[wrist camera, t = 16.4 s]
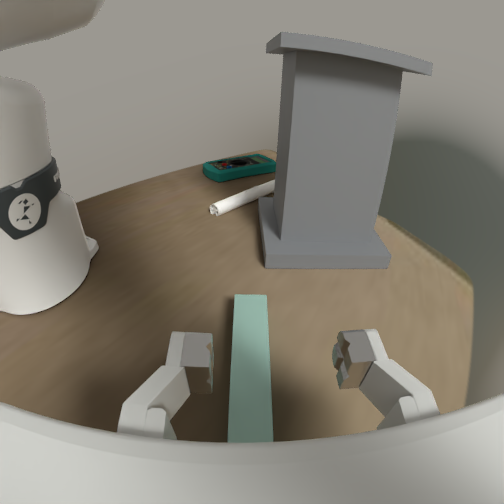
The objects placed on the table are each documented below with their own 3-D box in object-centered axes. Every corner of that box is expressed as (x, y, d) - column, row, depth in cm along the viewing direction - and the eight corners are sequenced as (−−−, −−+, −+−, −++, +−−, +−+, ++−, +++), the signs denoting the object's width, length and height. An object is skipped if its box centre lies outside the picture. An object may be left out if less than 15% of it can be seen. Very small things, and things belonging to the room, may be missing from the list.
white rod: (279, 185, 60) (280, 173, 59) (288, 188, 59) (289, 176, 58) (209, 214, 49) (209, 200, 48) (218, 218, 48) (218, 204, 46)
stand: (387, 268, 38) (432, 63, 24) (265, 268, 37) (281, 31, 23) (351, 211, 51) (374, 58, 37) (257, 208, 51) (266, 43, 36)
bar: (272, 554, 13) (277, 555, 11) (226, 554, 13) (223, 555, 11) (264, 316, 32) (266, 294, 30) (235, 316, 32) (234, 294, 30)
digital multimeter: (200, 174, 64) (199, 161, 63) (258, 163, 71) (259, 151, 70) (215, 185, 59) (215, 171, 58) (278, 173, 66) (279, 160, 65)
